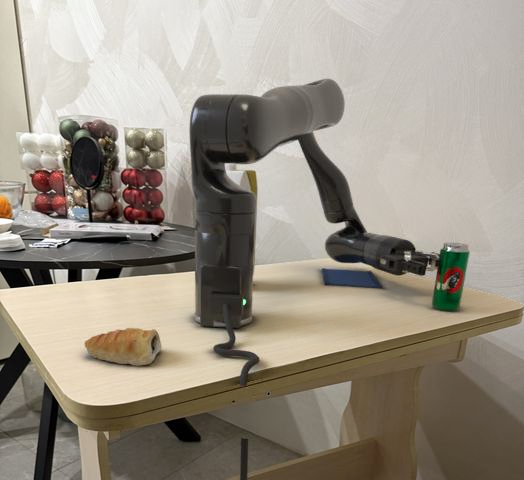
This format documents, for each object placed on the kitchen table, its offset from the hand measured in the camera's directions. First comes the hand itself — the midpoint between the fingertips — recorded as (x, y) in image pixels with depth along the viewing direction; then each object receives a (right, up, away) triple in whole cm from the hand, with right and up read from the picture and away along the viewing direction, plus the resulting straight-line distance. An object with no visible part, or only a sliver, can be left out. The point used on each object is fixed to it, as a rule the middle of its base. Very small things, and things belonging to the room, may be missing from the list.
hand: (442, 269), depth 98 cm
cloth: (-14, +1, +22) cm, 26 cm away
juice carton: (-41, -2, +10) cm, 42 cm away
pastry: (-51, -16, -30) cm, 62 cm away
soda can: (+1, -7, +1) cm, 8 cm away
